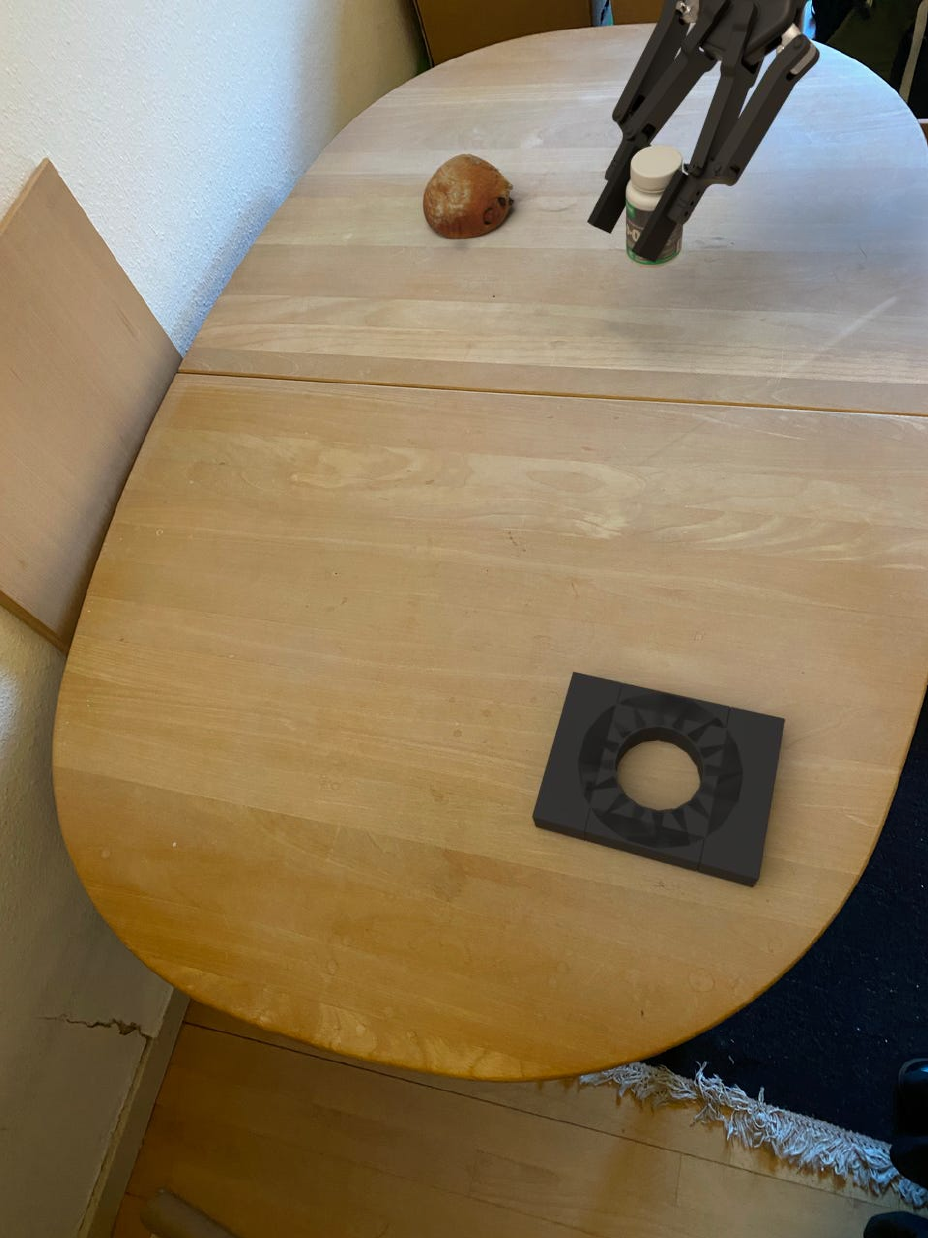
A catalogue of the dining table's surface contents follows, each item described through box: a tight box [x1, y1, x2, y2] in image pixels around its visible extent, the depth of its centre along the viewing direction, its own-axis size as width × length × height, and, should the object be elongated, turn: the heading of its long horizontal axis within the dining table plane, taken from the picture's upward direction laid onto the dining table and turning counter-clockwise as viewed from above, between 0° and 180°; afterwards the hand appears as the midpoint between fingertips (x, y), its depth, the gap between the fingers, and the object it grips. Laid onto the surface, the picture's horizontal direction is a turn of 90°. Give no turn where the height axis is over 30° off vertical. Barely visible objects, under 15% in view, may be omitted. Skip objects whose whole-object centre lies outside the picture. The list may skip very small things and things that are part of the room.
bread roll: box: [422, 153, 515, 240], centre depth 97 cm, size 10×10×8 cm
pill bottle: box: [625, 144, 684, 269], centre depth 69 cm, size 5×5×8 cm
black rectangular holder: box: [531, 671, 786, 888], centre depth 62 cm, size 16×12×3 cm
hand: (620, 241), depth 69 cm, fingers closed on pill bottle, 5 cm apart
